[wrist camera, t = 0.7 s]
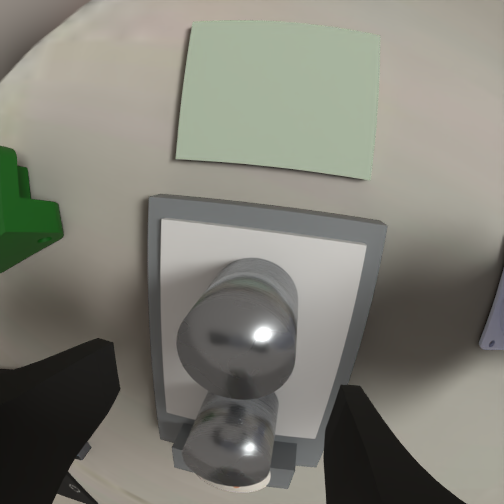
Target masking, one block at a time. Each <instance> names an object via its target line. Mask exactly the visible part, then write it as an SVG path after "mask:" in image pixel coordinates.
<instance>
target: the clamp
mask: <svg viewBox="0 0 504 504" xmlns="http://www.w3.org/2000/svg"><path fill="white" fill-rule="evenodd" d="M63 236H64V234H63V229H62V223H61V217H60V211H59V205H58V204H57V203H56V202H51V201H43V200H35V199H31V197H30V188H29V177H28V170H27V168H26V167H21V166H17V156H16V152H15V151H14V149H12V148H7V147H3V146H0V273H2V272H4V271H6V270H7V269H9V268H11V267H12V266H14V265H16V264H17V263H19V262H21V261H22V260H24V259H26V258H27V257H29V256H31V255H33V254H34V253H36V252H38V251H40V250H42V249H43V248H45V247H47V246H49V245H51V244H52V243H54V242H56V241H58V240H60V239H61V238H62V237H63Z"/></svg>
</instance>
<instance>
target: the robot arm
mask: <svg viewBox="0 0 504 504" xmlns="http://www.w3.org/2000/svg"><path fill="white" fill-rule="evenodd" d="M491 341H492V342H491ZM490 342H491V343H490ZM489 343H490V344H489ZM479 346H480V347H481V348H482V349H483V350H504V269H503V272H502V276H501V280H500V283H499V286H498V290H497V293H496V296H495V299H494V302H493V305H492V308H491V311H490V314H489V317H488V320H487V323H486V325H485V328H484V331H483V333H482V336H481V339H480V341H479ZM119 391H120V385H119V379H118V373H117V366H116V360H115V353H114V345H113V342H109V341H106V340H103V339H99V338H97V339H94V340H91V341H88V342H86V343H83V344H81V345H78V346H76V347H73V348H71V349H68V350H66V351H63V352H61V353H59V354H56V355H54V356H51V357H49V358H46V359H44V360H41V361H38V362H35V363H32V364H30V365H27V366H24V367H21V368H18V369H15V370H11V371H8V372H4V373H0V504H52V503H53V500H54V498H55V496H56V494H57V492H58V489H59V487H60V485H61V483H62V481H63V479H64V477H65V475H66V473H67V472H68V470H69V468H70V466H71V464H72V463H73V461H74V460H75V458H76V456H77V455H78V454H79V452H80V451H81V449H82V448H83V447H84V445H85V444H86V443H87V441H88V440H89V439H90V437H91V436H92V434H93V433H94V432H95V430H96V429H97V428H98V426H99V425H100V423H101V422H102V421H103V419H104V418H105V417H106V415H107V414H108V412H109V410H110V409H111V407H112V405H113V403H114V401H115V399H116V397H117V395H118V393H119ZM324 473H325V488H326V504H466V503H465V502H463V501H462V500H460V499H459V498H458V497H456V496H455V495H454V494H452V493H451V492H450V491H448V490H447V489H446V488H445V487H443V486H442V485H441V484H440V483H439V482H438V481H436V480H435V479H434V478H433V477H432V476H431V475H430V474H429V473H428V472H427V471H426V470H425V469H424V468H423V467H422V466H421V465H420V464H419V463H418V462H417V461H416V460H415V459H414V458H413V457H412V456H411V454H410V453H409V452H408V451H407V450H406V449H405V447H404V446H403V445H402V444H401V443H400V441H399V440H398V439H397V438H396V436H395V435H394V434H393V432H392V431H391V430H390V428H389V427H388V426H387V424H386V423H385V421H384V420H383V419H382V417H381V416H380V414H379V413H378V411H377V410H376V408H375V407H374V406H373V404H372V403H371V401H370V400H369V398H368V397H367V395H366V394H365V392H364V391H363V389H362V388H361V387H360V386H354V385H340V388H339V391H338V394H337V397H336V400H335V403H334V406H333V409H332V412H331V415H330V418H329V420H328V423H327V426H326V429H325V439H324Z"/></svg>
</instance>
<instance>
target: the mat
mask: <svg viewBox="0 0 504 504" xmlns="http://www.w3.org/2000/svg"><path fill="white" fill-rule="evenodd" d="M379 72H380V35H375V34H371V33H366V32H361V31H355V30H349V29H343V28H337V27H330V26H322V25H314V24H305V23H294V22H280V21H258V20H221V21H199V22H193V23H192V29H191V35H190V41H189V48H188V54H187V61H186V68H185V76H184V83H183V91H182V99H181V108H180V117H179V127H178V137H177V149H176V159H184V160H201V161H215V162H228V163H240V164H251V165H261V166H270V167H279V168H288V169H296V170H304V171H311V172H319V173H326V174H333V175H339V176H346V177H352V178H358V179H364V180H371V172H372V163H373V154H374V145H375V134H376V123H377V109H378V94H379Z"/></svg>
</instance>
